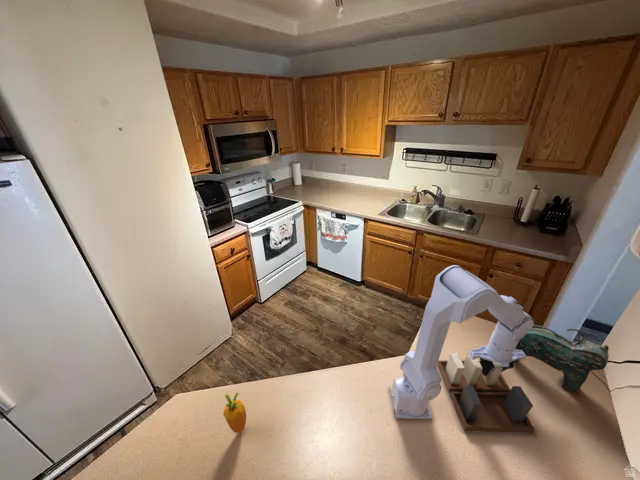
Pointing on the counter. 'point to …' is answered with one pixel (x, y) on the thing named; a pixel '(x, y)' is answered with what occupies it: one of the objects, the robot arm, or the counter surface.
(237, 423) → the carrot
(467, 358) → the cream book
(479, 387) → the shallow brown tray
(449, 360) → the cream book
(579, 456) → the counter surface
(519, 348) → the green mottled arch
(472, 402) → the charcoal book
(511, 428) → the dark wooden tray
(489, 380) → the cream book
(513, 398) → the charcoal book
